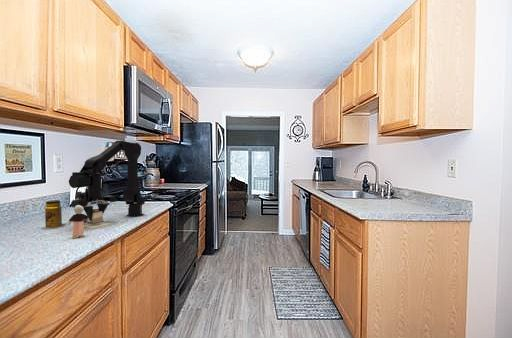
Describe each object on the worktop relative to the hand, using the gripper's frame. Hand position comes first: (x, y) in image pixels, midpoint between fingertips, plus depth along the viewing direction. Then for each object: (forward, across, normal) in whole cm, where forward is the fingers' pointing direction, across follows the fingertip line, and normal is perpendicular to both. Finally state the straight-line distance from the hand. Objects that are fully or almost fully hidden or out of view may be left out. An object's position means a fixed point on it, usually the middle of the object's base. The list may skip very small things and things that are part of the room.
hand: (95, 219), depth 130 cm
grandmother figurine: (+3, +16, +12) cm, 20 cm away
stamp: (+2, 0, 0) cm, 2 cm away
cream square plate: (+3, 0, 0) cm, 3 cm away
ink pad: (+3, -5, -13) cm, 14 cm away
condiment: (+3, +9, -15) cm, 18 cm away
